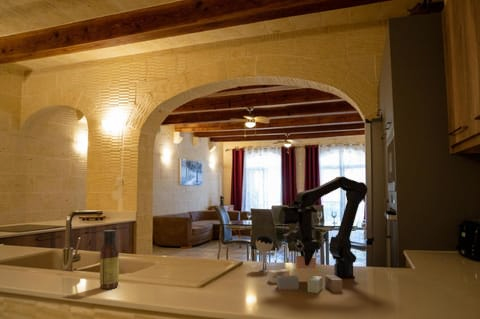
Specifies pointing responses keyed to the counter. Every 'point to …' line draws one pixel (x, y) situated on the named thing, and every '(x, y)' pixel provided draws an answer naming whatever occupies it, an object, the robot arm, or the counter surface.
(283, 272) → the birch block
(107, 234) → the sauce bottle
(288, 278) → the slate block
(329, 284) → the walnut block
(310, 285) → the sage block
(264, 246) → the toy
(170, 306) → the counter surface
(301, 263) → the terracotta block
